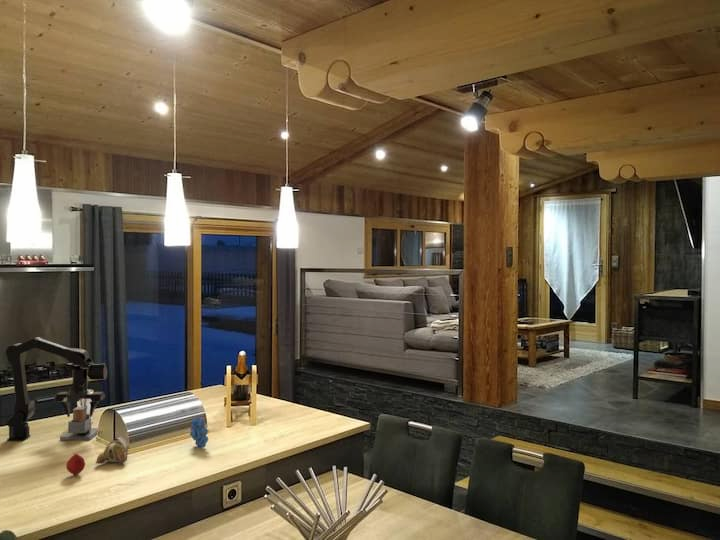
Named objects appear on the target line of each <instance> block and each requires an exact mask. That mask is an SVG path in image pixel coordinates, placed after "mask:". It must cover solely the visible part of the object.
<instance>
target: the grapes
mask: <svg viewBox="0 0 720 540" xmlns="http://www.w3.org/2000/svg"><path fill="white" fill-rule="evenodd" d="M191 424H192V425H191V427H190V432H189V435H190V436H191V438H192V440H194V441H195V442H194V443H195V445H196V446H197V447H200V448H205V447H206V445H207V443H208V441H209V437H208V436H207V435H208V433H209V430H208V429H207V427H205V426H206V424H207V423H206V422H205V420H203V419H202V417H200V416H199V415H198V416H196V417H195V418H194V417H193V419H192V420H191Z"/></svg>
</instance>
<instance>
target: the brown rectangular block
mask: <svg viewBox="0 0 720 540" xmlns="http://www.w3.org/2000/svg"><path fill="white" fill-rule="evenodd" d="M72 419H73V422H85V421H86V420H87V407H78V406H77V407H75V408H73V409H72Z"/></svg>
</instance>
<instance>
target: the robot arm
mask: <svg viewBox="0 0 720 540" xmlns="http://www.w3.org/2000/svg"><path fill="white" fill-rule="evenodd" d="M33 349H38V350H41V351H44V352H47V353H50V354H52V355H56V356H58V357H61V358H64V360H66V361H67V362H69V363H70V366H69V367H68V368H66V370H67V371H72V383H71V385H70V389H69V390H68V391H60V392H57V393H56V394H55V396H54V402H57V403H58V404H60V405H62V407H63V408H64V410H65V411H64V412H65V414H66V416H67V418H69V417H70V416H71V402H75V403H77V401H79V400H80V399H91V400H92V401H91V402H90V405H91V407H90V417H92V418H93V415H94V412H95V410H96V407H97V405H98V403H99V402H101V401H103V400H104V399H105V398H106V393H105V392H104V391H94V393H93V394H87V393H89V391H87V389H88V385H89V383H90V382H89V380H91V381H99V380H100V381H105V380H106V379H107V377H108V369H107V366H106V363H95V362H94V361H93V359H92V358H91V357H90V354H89V352H88V350H86V349H81V348H73V347H67V346H64V345H61V344H59V343H55V342H52V341H49V340H47V339H44V338H42V337H40V336H37V337H33V338H31V339H30V340H28V341H24V342H22V343H20V342H18V343H14V344H12V345H9V346H8V347H7V348H6V349H5V357H6V359H7V361H8V363H9V365H10V366H11V370H12V379H13V380H12V381H13V387H14V396H15V403H14V405H13V411H12V412H13V414H12V416H11V417H10V418H9V419H8V420H7V421H6V424H7V426H8V438H7V439H6V441H8V442H10V441H24V440H26V439H27V438H29V437H31V434H30V426H29V422H30V418H32V416H33V415H34V414H35V411H36V410H37V409H36V407H35V400H31V399H30V397H29V393H28V392H29V391H28V390H29V389H28V384H27V375H26V369H25V368H26V367H25V365H26V364H25V363H26V359H27V355H28V351H30V350H33Z"/></svg>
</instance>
